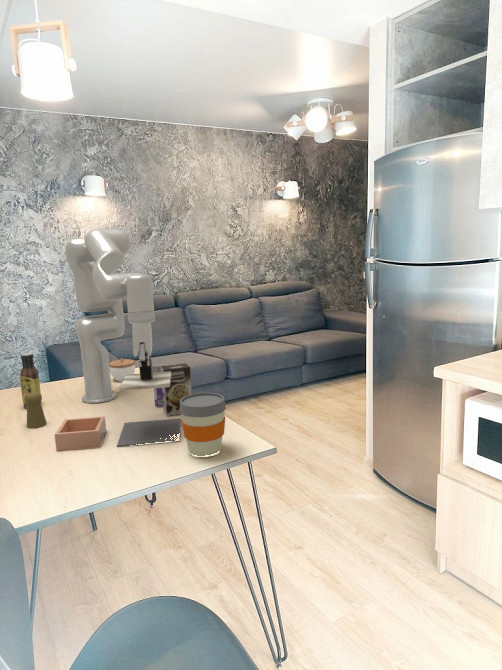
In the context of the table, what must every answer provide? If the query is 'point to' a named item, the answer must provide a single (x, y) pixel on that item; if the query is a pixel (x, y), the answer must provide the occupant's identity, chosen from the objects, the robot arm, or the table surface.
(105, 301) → the robot arm
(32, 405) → the cork
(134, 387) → the lid
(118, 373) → the lidded jar
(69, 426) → the dish
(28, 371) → the sauce bottle
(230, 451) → the table surface
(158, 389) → the container
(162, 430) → the mat
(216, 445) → the reusable coffee cup
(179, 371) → the coffee box
